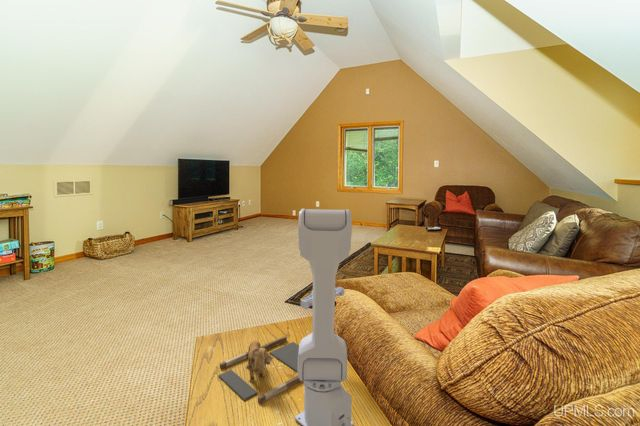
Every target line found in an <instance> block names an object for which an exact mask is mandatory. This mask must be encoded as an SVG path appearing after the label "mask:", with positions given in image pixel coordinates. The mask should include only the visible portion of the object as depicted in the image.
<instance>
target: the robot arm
mask: <svg viewBox="0 0 640 426" xmlns="http://www.w3.org/2000/svg"><path fill="white" fill-rule="evenodd" d="M352 216H353V215H352V211H350V209H349V208H348V209H347V208H346V209H311V208H301V209H300V211H299V212H298V219H297V220H298V223H297V224H298V229H297V231H298V232H297V233H298V234H297V235H298V250H299V255H300V257H301V258H303V259H305V260H306V261H308V262H309V265H310V266H309V267H310V270H311V274H312V290H311V291H310V292H311V293H310V294H308V295H307V296H306V297H304V298H302V299H300V308H302V309H304V310H308V309H309V307H312V332H310V333H309V334H307V335H306V336H304V337H303V338H302V339H301V340H300V342H299V344H298V345H299V353H298V372H297V376H298V378H299V379H300V382H303V387H304V388H303V389H304V391H303V393H304V397H303V398H304V400H303V401H304V403H303V405H304V409H303V411H301V412H300V413H299V414H297V415H296V416H295V417H294V419H295V421H297V423H299V424H300V425H301V426H354V425H355V424H354V421H353V420H352V403H353V402H352V401H353V400H352V396H351V393H349V392H348V391H347V390H346V389H345V388H344V385H342V383H345V381H347V379H348V348H347V343H346V341H345V340H344V339H343V338H342V337H341V336H339V335H337V334H336V333H335V310H336V309H335V307H336V306H337V300H336V298H337V297H339V296H341V297H343V296H345V288H344V287H341V286H338V287H336V278H337V277H336V276H337V273H338V270H339V266H340V262H342V261H344V260H346V259H348V258H350V252H351V249H352V248H351V247H352V235H353V234H352V233H353V218H352Z"/></svg>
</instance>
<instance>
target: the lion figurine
mask: <svg viewBox="0 0 640 426" xmlns="http://www.w3.org/2000/svg"><path fill="white" fill-rule="evenodd" d="M261 346H262V345H261V343H260V341H259V340H253V341H250V343H249V345H248V351H247V352H248V358H247V359H248V361H247V365H246V367H245V368H247V369H248V370H249V380H248V382H249V383H254V382H255V375H254V374H255V373H258V378H259V379H260V380H263V379H265V378H266V376H265V375H264V373H263V372H264V369H265V368H266V366H267V365H268V366H269V365H271V363H272V361H273V360H274V356H272V355H271V354H270V353H268V352H267V351H266V350H265V348H261Z"/></svg>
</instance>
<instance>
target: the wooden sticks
mask: <svg viewBox="0 0 640 426" xmlns="http://www.w3.org/2000/svg"><path fill="white" fill-rule="evenodd" d="M287 337H288V336H287V335H286V336H285V335H284V336H282V337H280V338H277V339H275V340H272V341H269V342H267V343H266V344H265V343H264V344H262V345H260V346H261V348H265V350H267V351H268V349H271V348H273V347H276V346H277V345H280V344H283V343H284V342H287V341H288V339H287ZM246 359H249V357H248V351H245V352H244V353H241V354H238V355H237V356H234V357H232V358H230V359H227V360H225V361H223V362H220V363H219V369H220V370H222V369H225V368H227V367H229V366H232V365H234V364H236V363H239V362H241V361H243V360H246ZM299 382H301V381H300V379H299V378H298V375H296V376H294V377H292V378H290V379H288V380H286V381H285V382H283V383H281V384H279V385H278V386H275V387H273V388H272V389H270V390H268V391H266V392H264V393H263V394H261V395H259V396H258V397H257V403H258V404H262V403H263V402H267V400H269V399H271V398H273V397H275V396H276V395H279V394H280V393H283V392H284V391H285V390H287V389H289V388H290V387H293V386H294V385H296V384H298V383H299Z"/></svg>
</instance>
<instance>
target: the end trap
mask: <svg viewBox="0 0 640 426" xmlns="http://www.w3.org/2000/svg"><path fill="white" fill-rule="evenodd" d="M217 376H218V378H220V379H221V380H222V381H223V383H225V384H226V385H227V386H228V387H229V388H230V389H231V390H232V391H233V392H234V393H235V394H236V395H238V396H239V397H240V399H242V400H243V401H246V400H247V401H248V399H250V398H253V397H254V396H256V395H258V391H257V390H256V389H255V388H253V386H251V385H250V384H249V383H247V381H245V380H244V379H243V378H241V377H240V376H239V375H238V374H237V373H236V372H235V371H234V370H233V369H228V370H226V371H224V372H222V373H220V374H218V375H217Z"/></svg>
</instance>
